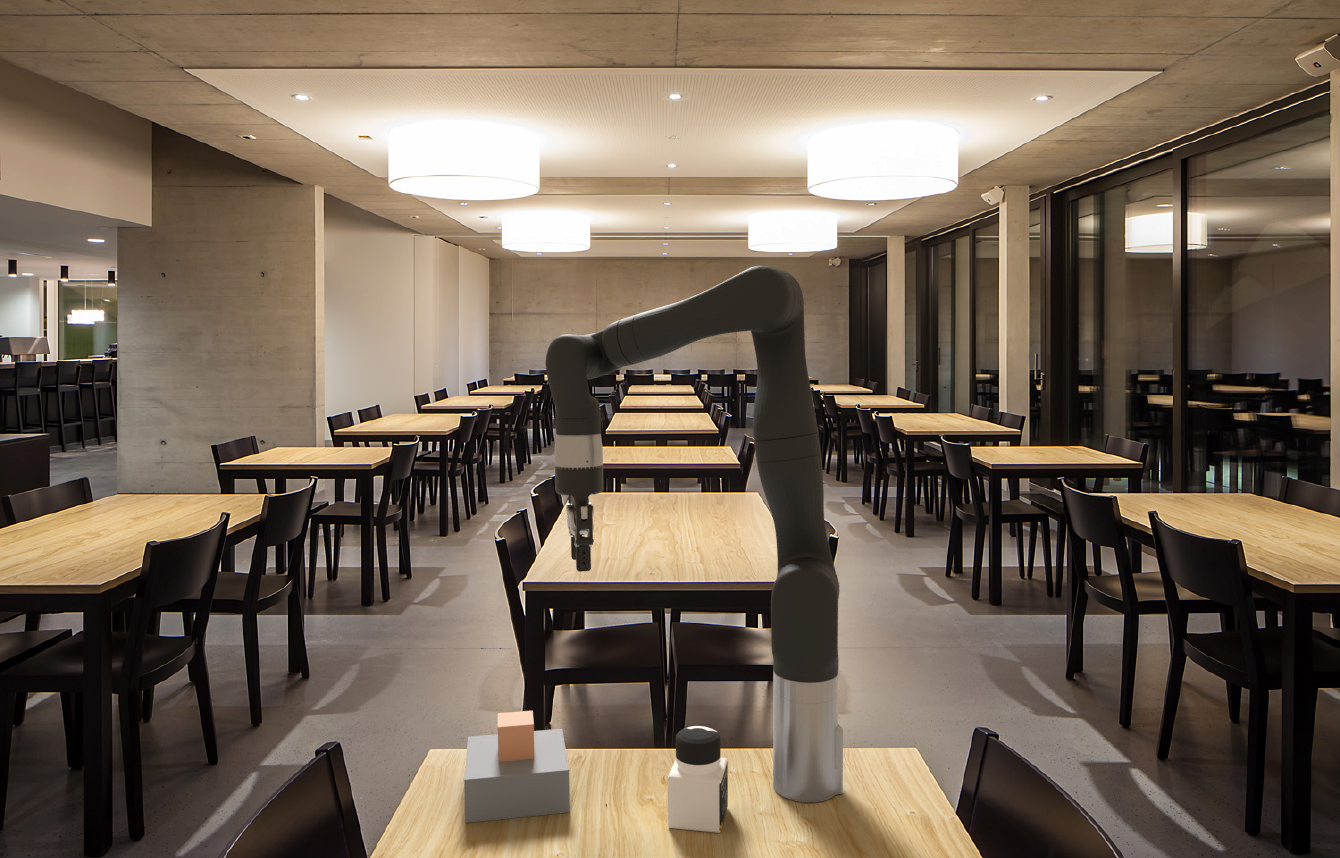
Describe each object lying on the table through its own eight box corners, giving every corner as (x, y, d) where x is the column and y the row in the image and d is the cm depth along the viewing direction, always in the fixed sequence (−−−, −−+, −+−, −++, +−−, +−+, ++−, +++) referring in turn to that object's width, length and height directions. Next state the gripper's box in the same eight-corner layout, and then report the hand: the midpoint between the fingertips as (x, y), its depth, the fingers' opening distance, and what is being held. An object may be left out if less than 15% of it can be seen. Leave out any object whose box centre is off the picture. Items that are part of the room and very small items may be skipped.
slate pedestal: (562, 766, 134) (562, 728, 133) (569, 812, 120) (569, 770, 120) (469, 775, 131) (468, 736, 131) (465, 823, 117) (464, 779, 117)
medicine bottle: (720, 834, 114) (720, 745, 113) (667, 829, 116) (666, 740, 115) (728, 807, 121) (727, 723, 120) (677, 802, 123) (677, 719, 122)
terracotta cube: (533, 743, 128) (532, 710, 128) (534, 758, 123) (533, 724, 123) (498, 746, 127) (497, 713, 127) (498, 762, 122) (497, 727, 122)
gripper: (608, 467, 131) (610, 574, 132) (597, 457, 145) (599, 554, 146) (558, 468, 129) (560, 577, 130) (551, 459, 143) (553, 556, 144)
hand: (580, 564), depth 138 cm, fingers open, 8 cm apart
